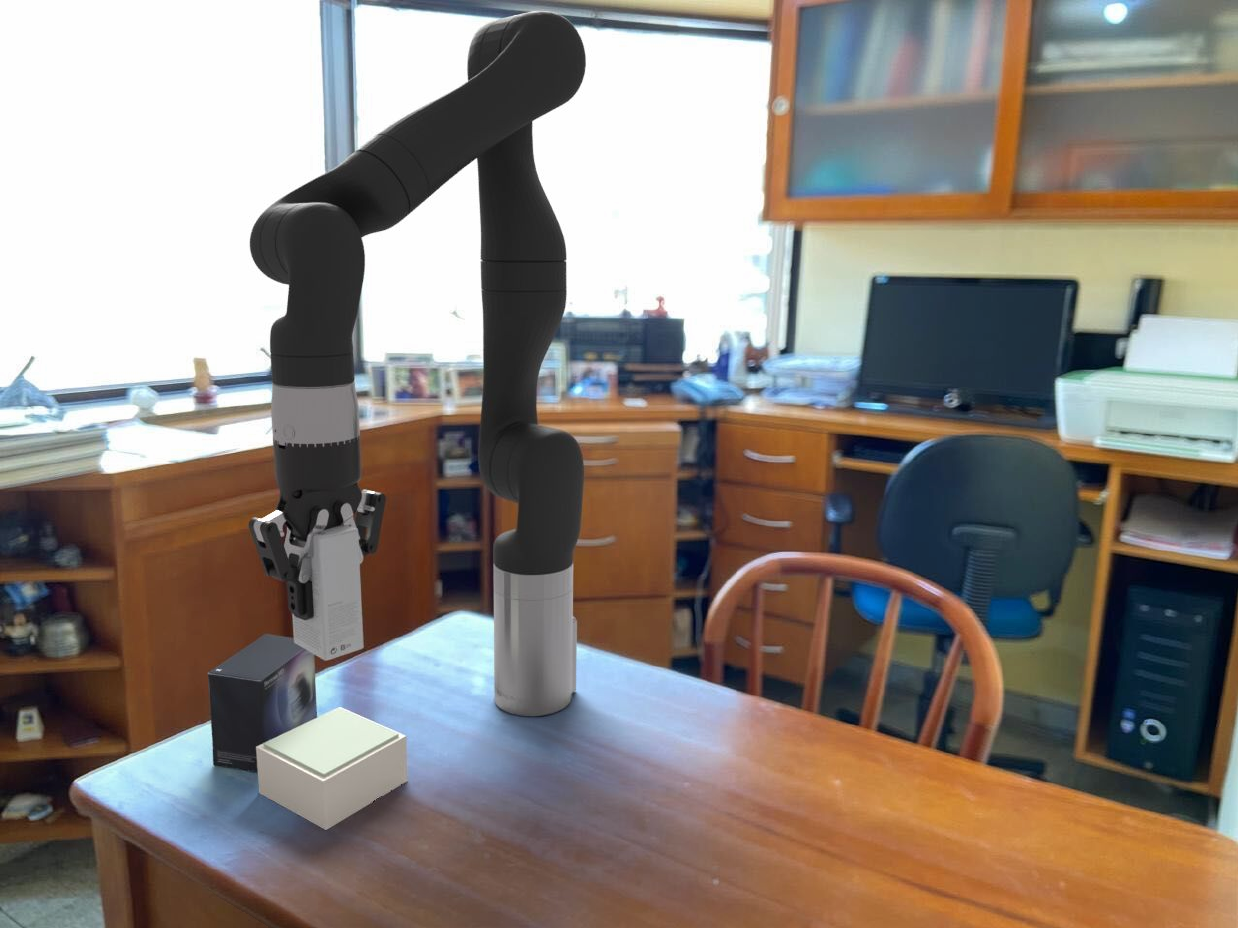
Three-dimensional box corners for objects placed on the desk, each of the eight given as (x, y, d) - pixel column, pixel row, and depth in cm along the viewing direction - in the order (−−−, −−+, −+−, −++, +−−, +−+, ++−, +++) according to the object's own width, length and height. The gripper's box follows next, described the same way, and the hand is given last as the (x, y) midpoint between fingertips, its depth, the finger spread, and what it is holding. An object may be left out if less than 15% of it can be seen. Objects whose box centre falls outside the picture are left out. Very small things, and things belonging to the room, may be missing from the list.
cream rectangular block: (341, 749, 98) (339, 704, 97) (407, 780, 92) (406, 732, 91) (259, 792, 90) (255, 743, 89) (325, 829, 84) (323, 778, 83)
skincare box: (365, 649, 87) (360, 528, 85) (324, 662, 84) (317, 538, 81) (332, 630, 91) (325, 514, 89) (291, 643, 88) (284, 523, 85)
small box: (268, 776, 93) (261, 680, 90) (210, 767, 94) (202, 673, 92) (321, 725, 103) (316, 637, 100) (269, 718, 104) (263, 631, 102)
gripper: (352, 416, 91) (359, 579, 95) (220, 438, 79) (234, 623, 83) (405, 425, 87) (410, 595, 91) (274, 450, 75) (286, 644, 79)
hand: (326, 608), depth 87 cm, fingers closed on skincare box, 4 cm apart
